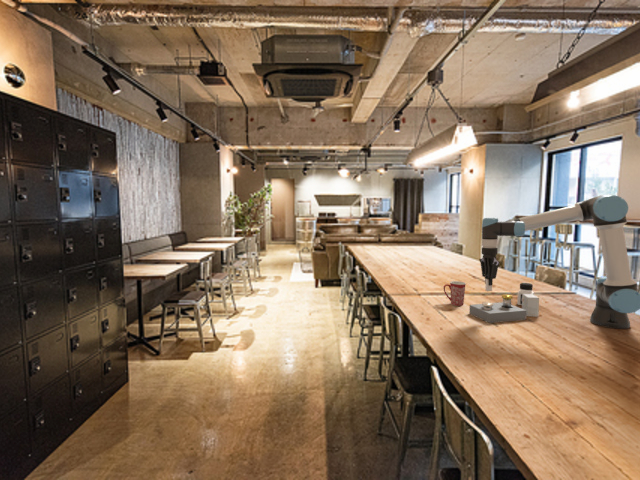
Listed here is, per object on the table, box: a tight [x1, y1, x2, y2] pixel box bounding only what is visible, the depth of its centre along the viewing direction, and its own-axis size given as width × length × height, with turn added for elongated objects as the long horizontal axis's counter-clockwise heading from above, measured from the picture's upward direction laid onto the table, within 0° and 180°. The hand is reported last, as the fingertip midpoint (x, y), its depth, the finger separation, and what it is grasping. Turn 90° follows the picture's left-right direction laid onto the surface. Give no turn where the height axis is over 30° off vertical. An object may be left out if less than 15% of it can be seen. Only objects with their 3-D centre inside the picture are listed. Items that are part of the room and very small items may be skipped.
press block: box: [468, 301, 527, 324], centre depth 181 cm, size 16×22×5 cm
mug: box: [443, 280, 467, 307], centre depth 206 cm, size 13×9×14 cm
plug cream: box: [481, 301, 493, 310], centre depth 180 cm, size 5×5×7 cm
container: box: [516, 282, 535, 306], centre depth 203 cm, size 8×8×13 cm
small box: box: [521, 294, 540, 317], centre depth 184 cm, size 8×6×10 cm
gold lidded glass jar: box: [501, 293, 514, 308], centre depth 182 cm, size 5×5×7 cm
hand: (488, 290), depth 179 cm, fingers closed
